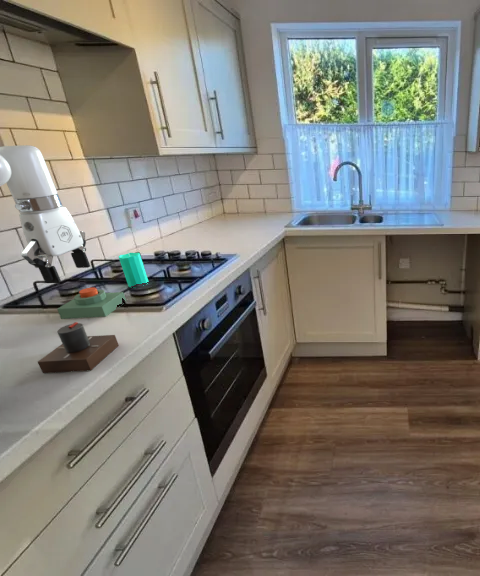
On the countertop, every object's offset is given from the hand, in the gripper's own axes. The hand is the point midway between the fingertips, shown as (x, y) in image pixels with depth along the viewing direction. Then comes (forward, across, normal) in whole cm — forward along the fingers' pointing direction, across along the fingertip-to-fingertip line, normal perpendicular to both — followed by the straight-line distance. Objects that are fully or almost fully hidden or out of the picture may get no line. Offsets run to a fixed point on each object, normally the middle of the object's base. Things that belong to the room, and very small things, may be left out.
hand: (69, 274), depth 88 cm
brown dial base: (+16, -14, -7) cm, 22 cm away
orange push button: (+11, +12, +7) cm, 18 cm away
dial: (+12, -14, -7) cm, 20 cm away
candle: (+16, +31, +6) cm, 35 cm away
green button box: (+16, +12, +7) cm, 21 cm away
